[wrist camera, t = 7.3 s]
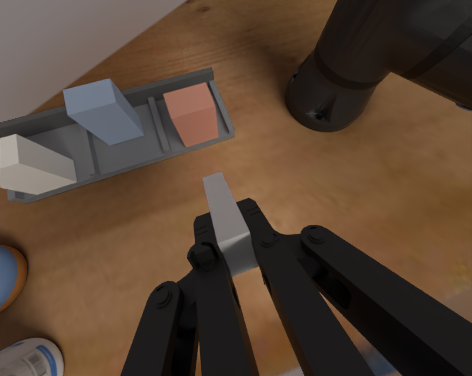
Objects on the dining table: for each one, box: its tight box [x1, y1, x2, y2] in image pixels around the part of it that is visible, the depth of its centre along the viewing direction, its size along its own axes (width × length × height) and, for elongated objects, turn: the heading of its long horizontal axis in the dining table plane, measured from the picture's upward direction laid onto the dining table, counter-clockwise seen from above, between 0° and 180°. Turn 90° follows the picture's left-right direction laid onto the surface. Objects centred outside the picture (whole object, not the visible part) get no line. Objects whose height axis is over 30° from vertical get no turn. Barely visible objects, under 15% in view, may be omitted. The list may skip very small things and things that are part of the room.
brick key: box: [163, 82, 219, 148], centre depth 27 cm, size 6×4×8 cm, turn 111°
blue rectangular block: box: [63, 78, 145, 146], centre depth 27 cm, size 6×4×8 cm, turn 111°
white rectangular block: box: [0, 134, 77, 195], centre depth 24 cm, size 6×4×8 cm, turn 111°
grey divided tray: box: [0, 67, 235, 203], centre depth 30 cm, size 36×12×4 cm, turn 111°
